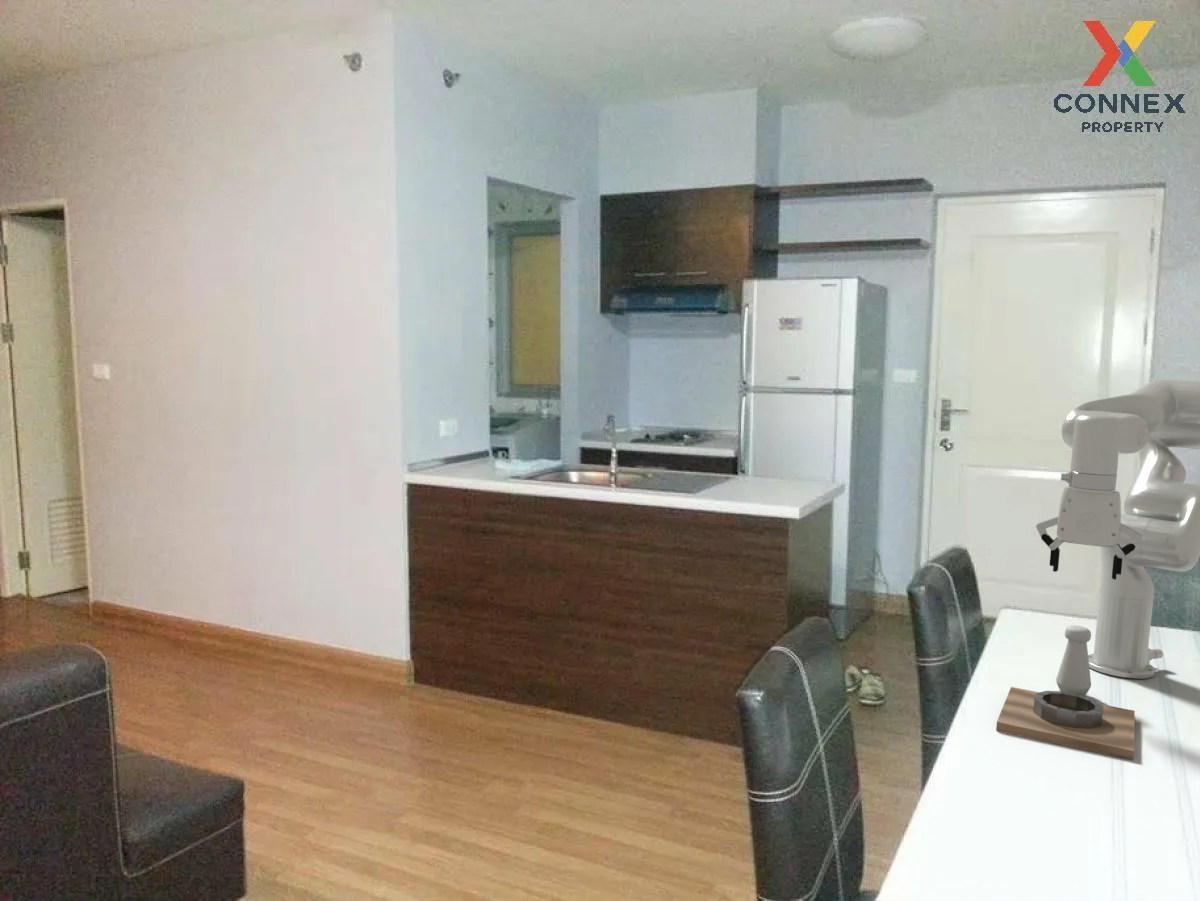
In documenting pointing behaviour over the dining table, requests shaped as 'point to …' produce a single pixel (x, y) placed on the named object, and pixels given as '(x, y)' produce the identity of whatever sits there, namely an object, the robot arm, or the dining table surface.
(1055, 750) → the dining table surface
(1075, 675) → the salt shaker
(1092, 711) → the collar
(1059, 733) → the board
